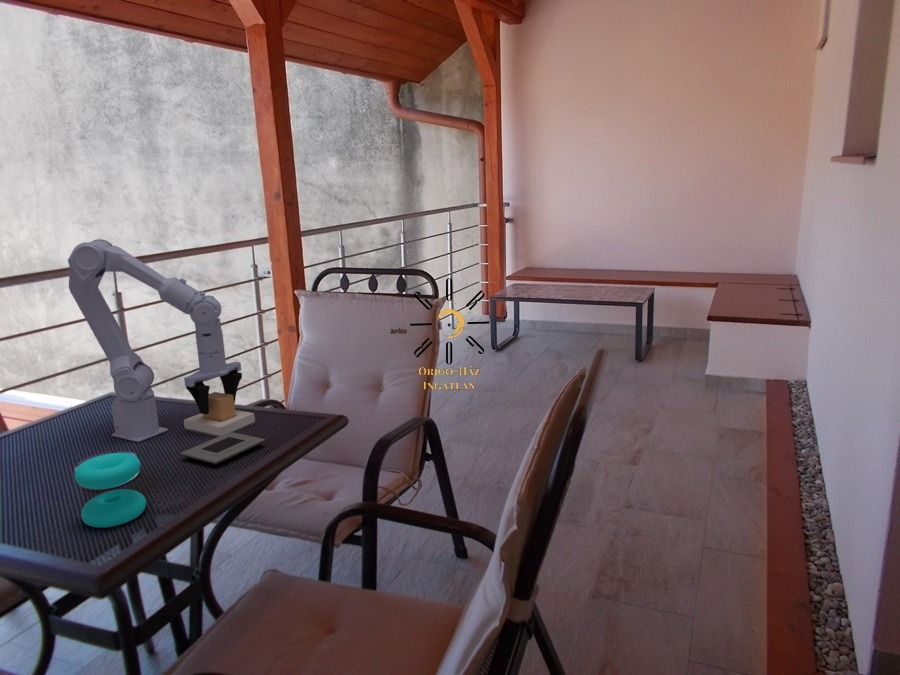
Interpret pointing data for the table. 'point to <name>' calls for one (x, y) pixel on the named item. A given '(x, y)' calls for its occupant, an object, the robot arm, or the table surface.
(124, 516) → the donuts
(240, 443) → the electrical outlet
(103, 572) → the table surface
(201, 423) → the socket block
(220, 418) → the plug
